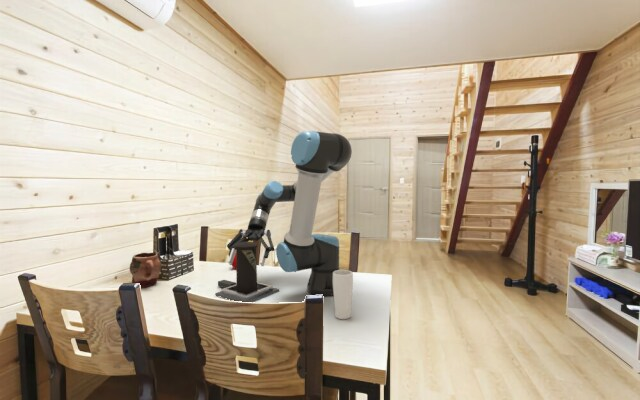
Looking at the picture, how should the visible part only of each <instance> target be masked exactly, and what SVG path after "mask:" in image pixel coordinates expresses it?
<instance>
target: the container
mask: <svg viewBox="0 0 640 400" xmlns="http://www.w3.org/2000/svg"><path fill="white" fill-rule="evenodd" d="M234 247H235V249H236V269H235V270H236V284H237V292H239V293H243V294H249V293H252V292H255V291H257V282H258V266H257V247H258V244H257V243H256V241H255V242H254V241H248V242H241V243H237V244H236V245H235V246H234Z"/></svg>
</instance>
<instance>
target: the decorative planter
mask: <svg viewBox="0 0 640 400" xmlns="http://www.w3.org/2000/svg"><path fill="white" fill-rule="evenodd" d="M161 270H162V262H161V261H160V258H159V255H158V254H157V252H141V253H136V254H134V255H133V256H132V259H131V262H130V264H129V272H130V274H131V276H132V278H131V283H140V285H141V288H140V289H142V288H149V287H151V286H154V285H156V284H157V282H158V278H159V276H160V272H161Z"/></svg>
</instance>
